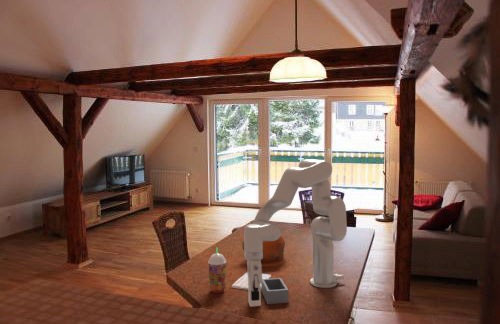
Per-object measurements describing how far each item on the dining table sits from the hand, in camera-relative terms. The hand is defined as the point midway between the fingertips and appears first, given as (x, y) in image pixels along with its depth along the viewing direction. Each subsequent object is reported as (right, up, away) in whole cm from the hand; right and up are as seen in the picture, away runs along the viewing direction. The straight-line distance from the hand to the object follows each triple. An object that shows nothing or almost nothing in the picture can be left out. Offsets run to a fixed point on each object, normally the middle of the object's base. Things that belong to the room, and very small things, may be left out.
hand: (254, 297), depth 162 cm
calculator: (-1, -2, +25) cm, 25 cm away
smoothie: (-16, -3, +15) cm, 22 cm away
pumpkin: (+7, 0, +59) cm, 59 cm away
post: (0, -3, 0) cm, 3 cm away
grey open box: (+9, -2, +7) cm, 12 cm away
